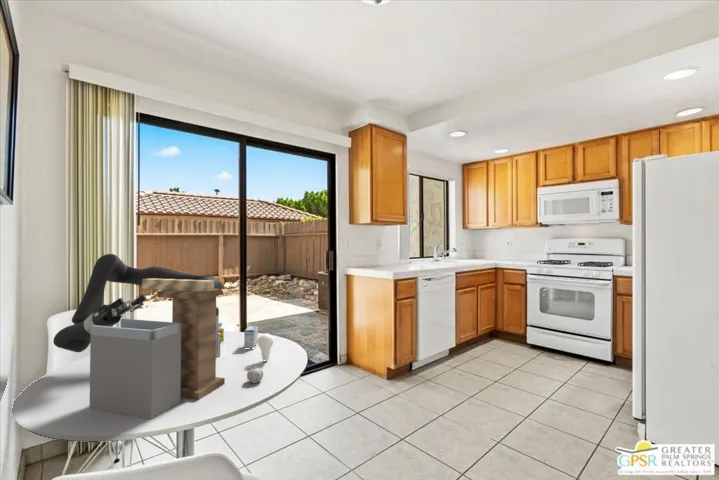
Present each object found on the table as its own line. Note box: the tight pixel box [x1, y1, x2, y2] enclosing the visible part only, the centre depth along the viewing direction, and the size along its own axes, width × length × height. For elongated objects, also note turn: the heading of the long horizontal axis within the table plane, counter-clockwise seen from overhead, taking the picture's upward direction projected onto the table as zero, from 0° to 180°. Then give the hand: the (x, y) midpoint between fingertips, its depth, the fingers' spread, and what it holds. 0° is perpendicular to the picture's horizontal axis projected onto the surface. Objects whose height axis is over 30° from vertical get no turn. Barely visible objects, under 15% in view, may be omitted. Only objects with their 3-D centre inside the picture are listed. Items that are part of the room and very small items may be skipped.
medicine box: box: [243, 325, 259, 349], centre depth 156 cm, size 8×4×9 cm, turn 5°
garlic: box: [246, 365, 264, 384], centre depth 116 cm, size 6×5×5 cm
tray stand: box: [89, 318, 181, 420], centre depth 99 cm, size 22×10×24 cm, turn 75°
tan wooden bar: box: [141, 278, 214, 292], centre depth 112 cm, size 26×3×3 cm, turn 75°
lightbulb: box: [257, 333, 275, 361], centre depth 136 cm, size 6×6×11 cm
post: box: [156, 289, 226, 401], centre depth 111 cm, size 18×12×32 cm, turn 75°
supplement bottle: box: [219, 321, 225, 344], centre depth 163 cm, size 5×5×10 cm
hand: (134, 298), depth 117 cm, fingers open, 8 cm apart
